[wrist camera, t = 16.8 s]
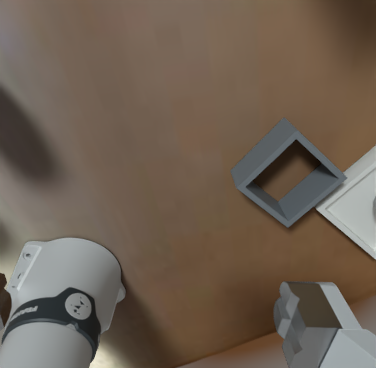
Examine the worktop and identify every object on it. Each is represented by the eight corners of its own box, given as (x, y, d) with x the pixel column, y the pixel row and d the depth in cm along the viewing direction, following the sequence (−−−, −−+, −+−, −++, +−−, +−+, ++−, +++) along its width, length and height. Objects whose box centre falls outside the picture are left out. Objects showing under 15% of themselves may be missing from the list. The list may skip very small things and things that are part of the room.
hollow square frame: (277, 208, 48) (287, 227, 44) (230, 170, 45) (236, 188, 40) (330, 161, 45) (347, 178, 40) (284, 117, 41) (297, 129, 37)
